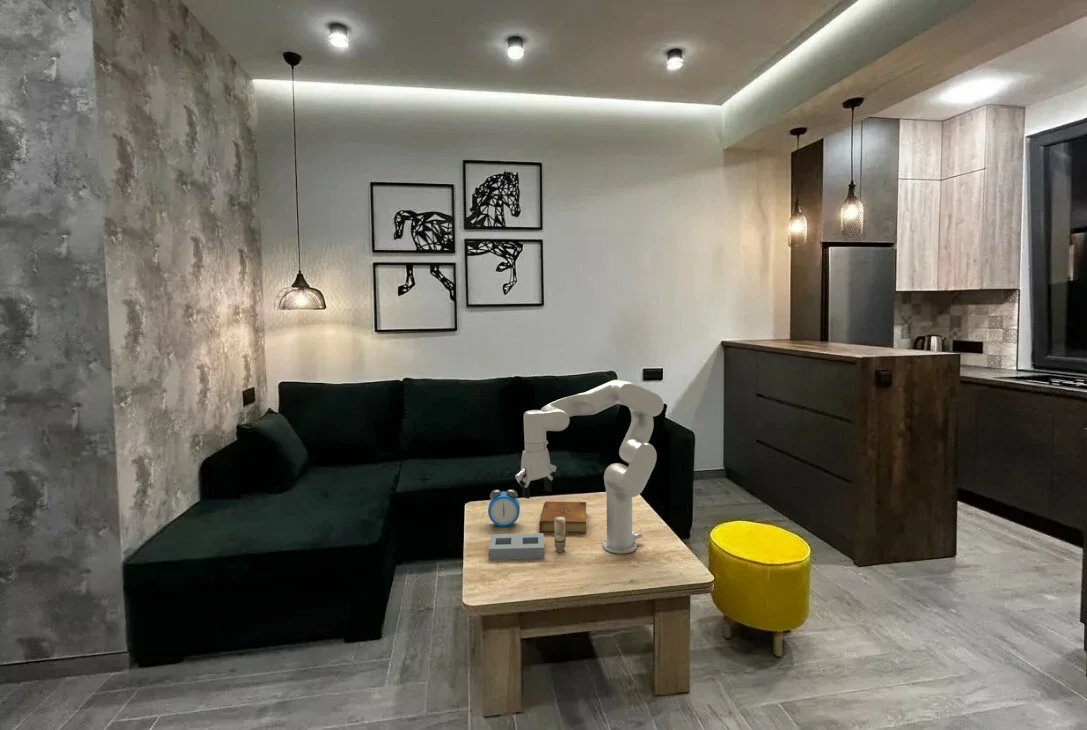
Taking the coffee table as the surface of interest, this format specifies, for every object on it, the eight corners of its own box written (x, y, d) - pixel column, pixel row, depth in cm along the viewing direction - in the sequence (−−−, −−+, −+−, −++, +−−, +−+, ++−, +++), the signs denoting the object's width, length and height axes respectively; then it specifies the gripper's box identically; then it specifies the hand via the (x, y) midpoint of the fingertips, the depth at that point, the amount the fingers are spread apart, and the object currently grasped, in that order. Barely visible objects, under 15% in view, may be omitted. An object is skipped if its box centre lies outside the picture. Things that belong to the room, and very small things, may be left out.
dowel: (561, 546, 205) (561, 516, 204) (567, 550, 202) (567, 519, 201) (552, 549, 203) (552, 518, 202) (558, 553, 200) (558, 521, 199)
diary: (544, 514, 242) (543, 501, 241) (586, 514, 240) (586, 501, 240) (539, 534, 219) (539, 520, 219) (586, 534, 217) (585, 520, 217)
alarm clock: (488, 527, 225) (487, 492, 224) (489, 522, 232) (488, 487, 230) (519, 527, 226) (519, 491, 224) (520, 521, 232) (519, 487, 230)
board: (543, 543, 209) (543, 533, 209) (544, 558, 196) (544, 547, 196) (491, 544, 209) (491, 534, 208) (488, 559, 196) (488, 549, 195)
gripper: (548, 440, 196) (549, 486, 198) (508, 448, 186) (510, 497, 187) (561, 443, 191) (563, 491, 192) (521, 452, 180) (523, 503, 181)
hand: (537, 494), depth 190 cm, fingers open, 9 cm apart
